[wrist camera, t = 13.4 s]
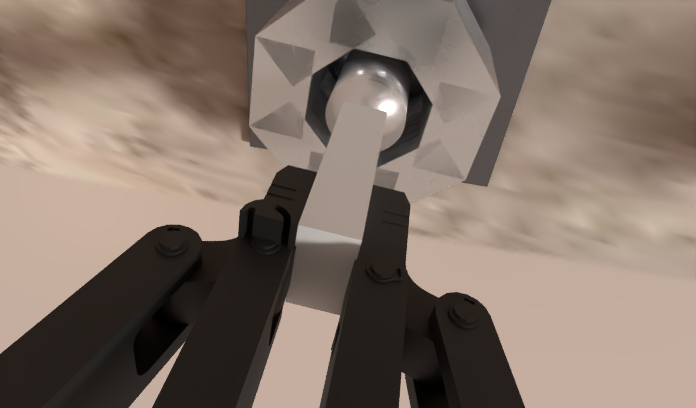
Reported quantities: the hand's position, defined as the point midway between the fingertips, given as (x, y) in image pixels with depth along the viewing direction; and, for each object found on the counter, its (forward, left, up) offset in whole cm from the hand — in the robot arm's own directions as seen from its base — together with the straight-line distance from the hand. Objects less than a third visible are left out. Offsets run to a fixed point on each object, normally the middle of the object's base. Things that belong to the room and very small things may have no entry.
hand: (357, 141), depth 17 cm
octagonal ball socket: (0, 0, -7) cm, 7 cm away
